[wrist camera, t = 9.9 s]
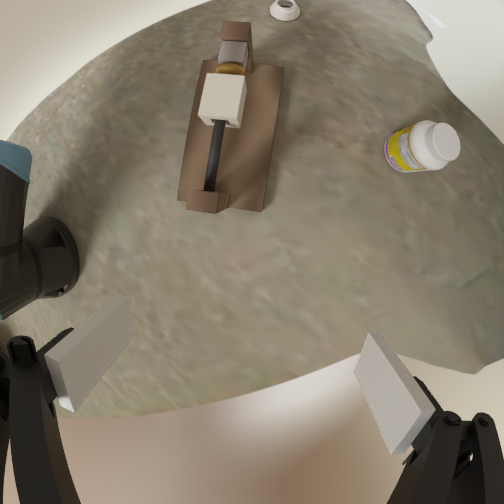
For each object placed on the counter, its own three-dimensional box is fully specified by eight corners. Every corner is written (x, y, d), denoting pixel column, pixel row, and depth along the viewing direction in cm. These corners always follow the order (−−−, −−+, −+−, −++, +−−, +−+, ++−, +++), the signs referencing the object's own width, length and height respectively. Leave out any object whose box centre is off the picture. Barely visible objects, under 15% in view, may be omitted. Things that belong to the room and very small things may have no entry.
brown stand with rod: (180, 199, 39) (145, 204, 26) (205, 63, 34) (185, 21, 21) (261, 211, 39) (261, 220, 26) (283, 71, 34) (291, 27, 21)
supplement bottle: (415, 135, 35) (463, 121, 22) (417, 174, 36) (467, 172, 24) (381, 129, 35) (424, 109, 23) (382, 170, 37) (428, 164, 24)
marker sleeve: (206, 124, 29) (197, 115, 25) (213, 87, 28) (206, 73, 24) (240, 128, 29) (236, 118, 25) (246, 90, 28) (244, 75, 24)
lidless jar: (265, 16, 32) (293, 25, 32) (265, 7, 29) (295, 16, 29) (276, 0, 31) (303, 8, 31) (276, -10, 28) (305, -1, 28)
